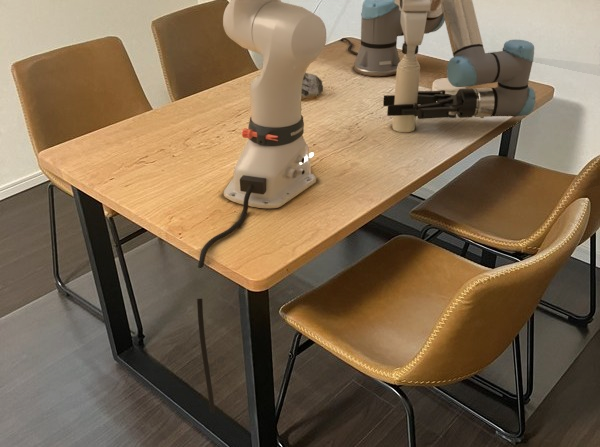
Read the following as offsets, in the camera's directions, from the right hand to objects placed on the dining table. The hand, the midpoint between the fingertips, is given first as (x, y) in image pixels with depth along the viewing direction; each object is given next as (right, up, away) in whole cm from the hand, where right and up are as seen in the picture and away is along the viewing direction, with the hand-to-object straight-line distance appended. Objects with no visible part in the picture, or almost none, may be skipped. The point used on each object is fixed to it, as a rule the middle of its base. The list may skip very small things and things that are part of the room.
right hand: (385, 105), depth 162 cm
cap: (+5, +13, -8) cm, 16 cm away
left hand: (+5, +12, -7) cm, 15 cm away
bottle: (+5, -5, +4) cm, 8 cm away
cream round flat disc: (+22, +8, +24) cm, 33 cm away
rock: (-23, +9, +27) cm, 36 cm away
